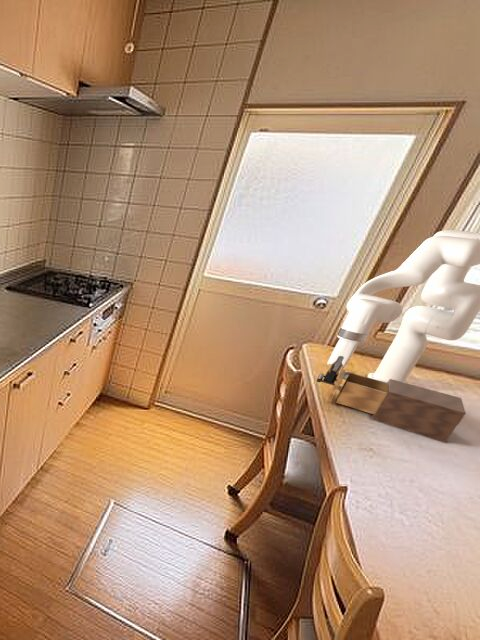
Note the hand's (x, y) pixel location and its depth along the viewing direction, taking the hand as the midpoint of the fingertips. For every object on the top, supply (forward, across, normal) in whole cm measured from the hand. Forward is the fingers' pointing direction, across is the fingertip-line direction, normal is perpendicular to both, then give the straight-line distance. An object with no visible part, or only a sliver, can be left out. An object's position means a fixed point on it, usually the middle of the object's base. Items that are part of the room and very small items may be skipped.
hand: (328, 381), depth 154 cm
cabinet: (+6, 0, +24) cm, 25 cm away
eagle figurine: (+6, -16, +8) cm, 19 cm away
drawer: (+5, 0, +8) cm, 9 cm away
